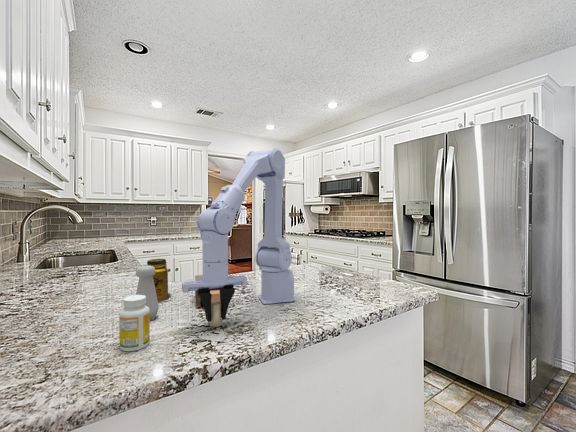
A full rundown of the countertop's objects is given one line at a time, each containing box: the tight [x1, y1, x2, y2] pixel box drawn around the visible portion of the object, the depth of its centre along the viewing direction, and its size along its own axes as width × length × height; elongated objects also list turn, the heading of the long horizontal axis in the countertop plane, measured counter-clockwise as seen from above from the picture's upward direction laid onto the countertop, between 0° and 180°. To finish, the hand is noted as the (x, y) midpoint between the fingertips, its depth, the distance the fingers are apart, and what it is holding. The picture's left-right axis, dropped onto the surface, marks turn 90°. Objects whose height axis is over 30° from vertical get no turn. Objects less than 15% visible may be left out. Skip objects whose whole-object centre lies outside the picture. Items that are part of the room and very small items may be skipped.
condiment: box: [146, 258, 172, 303], centre depth 89 cm, size 7×8×12 cm
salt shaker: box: [135, 265, 160, 321], centre depth 72 cm, size 6×6×13 cm
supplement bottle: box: [118, 294, 151, 352], centre depth 58 cm, size 5×5×10 cm
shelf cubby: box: [194, 274, 219, 309], centre depth 87 cm, size 8×12×6 cm
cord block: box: [203, 289, 222, 328], centre depth 75 cm, size 4×16×5 cm, turn 18°
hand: (215, 319), depth 68 cm, fingers open, 3 cm apart
